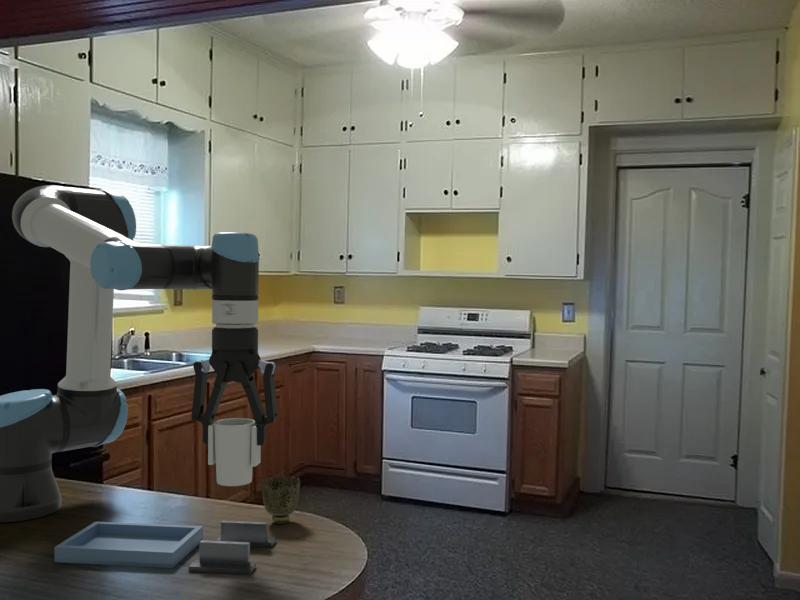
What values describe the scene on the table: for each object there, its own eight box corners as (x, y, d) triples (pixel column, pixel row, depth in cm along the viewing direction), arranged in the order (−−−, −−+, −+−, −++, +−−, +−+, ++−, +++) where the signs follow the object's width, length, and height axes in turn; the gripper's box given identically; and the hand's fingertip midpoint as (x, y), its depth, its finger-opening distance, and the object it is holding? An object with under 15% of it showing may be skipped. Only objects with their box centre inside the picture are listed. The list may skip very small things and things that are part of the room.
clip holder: (221, 539, 133) (221, 516, 133) (276, 541, 132) (276, 519, 132) (188, 571, 118) (188, 546, 118) (250, 574, 117) (250, 549, 117)
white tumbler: (232, 474, 129) (232, 416, 129) (262, 479, 126) (263, 420, 126) (205, 483, 123) (205, 423, 123) (236, 489, 120) (237, 427, 120)
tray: (95, 535, 134) (95, 521, 134) (202, 540, 132) (202, 526, 132) (54, 562, 121) (54, 547, 121) (172, 568, 119) (172, 552, 119)
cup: (254, 526, 140) (254, 483, 140) (271, 514, 147) (271, 474, 147) (290, 530, 138) (291, 487, 138) (306, 518, 145) (306, 477, 145)
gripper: (169, 326, 121) (168, 467, 122) (287, 328, 119) (286, 471, 120) (187, 323, 129) (186, 456, 129) (298, 325, 127) (297, 460, 127)
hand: (234, 463), depth 125 cm, fingers closed on white tumbler, 7 cm apart
